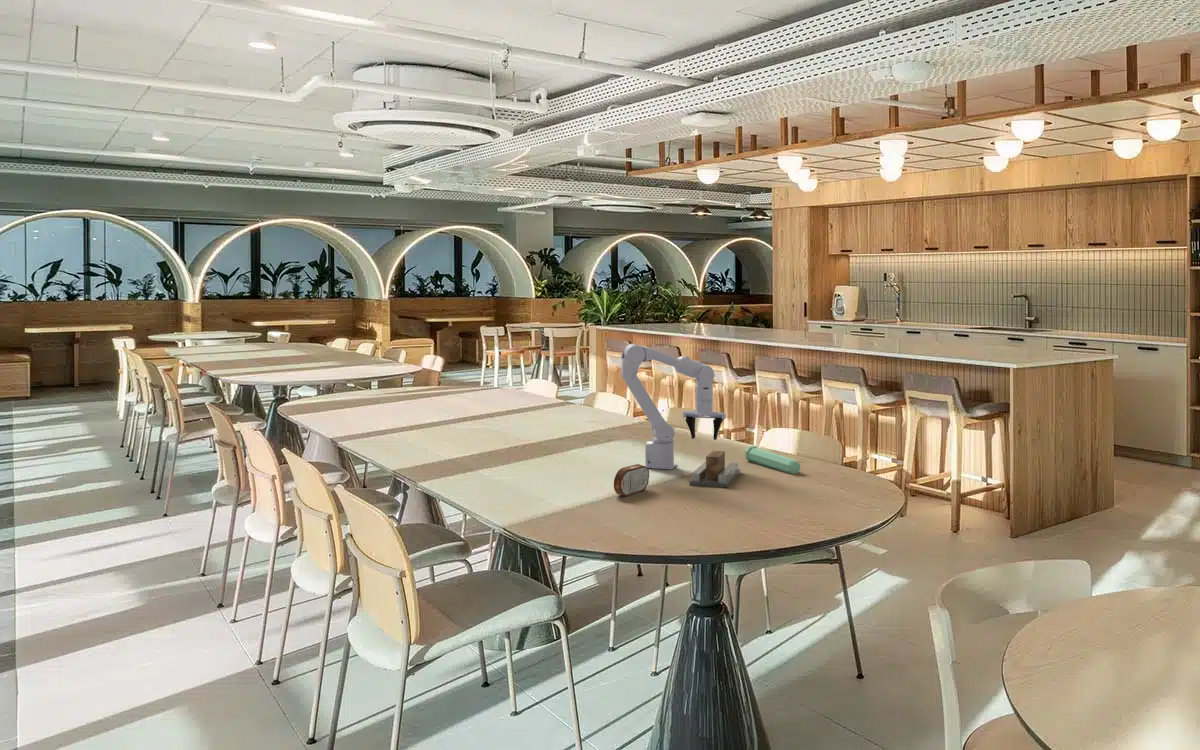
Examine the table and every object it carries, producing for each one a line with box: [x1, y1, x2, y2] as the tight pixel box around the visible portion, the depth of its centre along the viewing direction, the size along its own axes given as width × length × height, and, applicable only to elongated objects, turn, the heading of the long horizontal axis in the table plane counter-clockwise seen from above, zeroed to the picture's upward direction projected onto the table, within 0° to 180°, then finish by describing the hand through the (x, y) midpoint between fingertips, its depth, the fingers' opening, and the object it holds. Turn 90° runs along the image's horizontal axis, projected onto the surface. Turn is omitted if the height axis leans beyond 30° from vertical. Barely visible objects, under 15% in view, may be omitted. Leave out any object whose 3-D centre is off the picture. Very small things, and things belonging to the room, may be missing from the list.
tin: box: [613, 463, 650, 497], centre depth 270 cm, size 15×3×8 cm, turn 141°
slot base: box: [688, 460, 741, 488], centre depth 288 cm, size 12×22×4 cm, turn 161°
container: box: [744, 445, 801, 475], centre depth 305 cm, size 6×6×25 cm
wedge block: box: [705, 450, 726, 479], centre depth 288 cm, size 4×10×7 cm, turn 161°
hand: (704, 438), depth 308 cm, fingers open, 7 cm apart
